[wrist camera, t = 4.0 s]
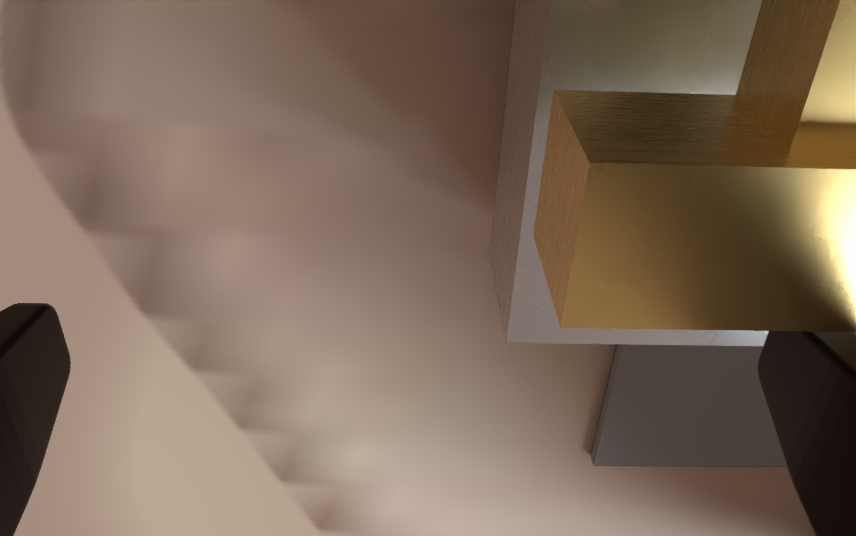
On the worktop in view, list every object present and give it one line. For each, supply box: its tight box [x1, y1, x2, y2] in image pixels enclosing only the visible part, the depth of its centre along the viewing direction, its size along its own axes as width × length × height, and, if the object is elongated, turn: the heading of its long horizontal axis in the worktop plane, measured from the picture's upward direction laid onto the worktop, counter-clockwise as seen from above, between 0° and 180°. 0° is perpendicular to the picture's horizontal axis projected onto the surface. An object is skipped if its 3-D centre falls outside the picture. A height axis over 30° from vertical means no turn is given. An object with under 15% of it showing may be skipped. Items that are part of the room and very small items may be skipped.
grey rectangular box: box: [490, 0, 769, 346], centre depth 13 cm, size 7×6×3 cm
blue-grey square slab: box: [591, 332, 856, 467], centre depth 21 cm, size 7×7×1 cm
